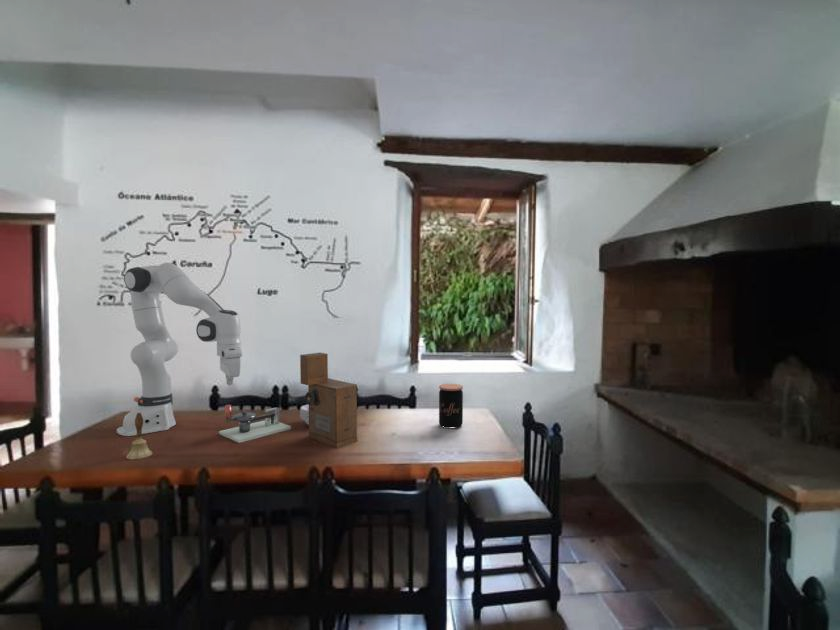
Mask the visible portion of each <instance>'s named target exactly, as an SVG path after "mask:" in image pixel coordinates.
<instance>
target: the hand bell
mask: <svg viewBox="0 0 840 630" xmlns="http://www.w3.org/2000/svg"><path fill="white" fill-rule="evenodd" d="M135 426H136V429H137V435H136V438H135V440H133V441H132V443H131V447H130V451H129V452H128V453H127V454H126V459H127V460H132V461H133V460H134V461H135V460H141V459H142V460H143V459H145V458H149V457H151V456H152V455H153V451H152V450H150V449H149V447H148V445H147V440H146V439H143V438H142V437H143V434H142V426H143V417H142V415H141V413H137V415H136V418H135Z"/></svg>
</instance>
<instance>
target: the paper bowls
mask: <svg viewBox="0 0 840 630" xmlns="http://www.w3.org/2000/svg"><path fill="white" fill-rule="evenodd" d="M299 408H300V411H299V413H300V419H301V420H302V421H304V422H305V424H306V425H308V426H309V405H308V404H303V405H302V406H301V407H299Z"/></svg>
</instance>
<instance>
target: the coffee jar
mask: <svg viewBox="0 0 840 630" xmlns="http://www.w3.org/2000/svg"><path fill="white" fill-rule="evenodd" d="M438 388H439V391H438V393H439V394H438V422H439V425H440V427H442V426H444V427H459V426H461V427H462V425H463V422H464V421H463V417H464V416H463V415H464V414H463V411H464V409H463V407H464V405H463V404H464V401H463V400H464V399H463V398H464V395H463V393H464V392H463V388H464V386H463V385H461V384H457V383H443V384H439V387H438ZM444 427H443V428H444ZM459 428H460V427H459Z"/></svg>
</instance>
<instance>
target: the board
mask: <svg viewBox="0 0 840 630" xmlns="http://www.w3.org/2000/svg"><path fill="white" fill-rule="evenodd" d="M247 412H248V411H247V410H244V411H241V413H242V415H246V414H247ZM269 419H270V426H265V419H263V420H260V421H257V422H256V421H255V422H253V423H252V422H250V431H248V432H239V426H235V427H232V428H227V429H224V430H219V431H218V434H219V435H220V436H222V437H225V438H228V439H230V440H232V441H233V442H236V443H238V444H240V443H244V442H247V441H253V440H255V439H259V438H264V437H266V436H270V435H275V434H278V433H282V432H285V431H286V432H287V431H289V430H292V426H291V425H288V424H286V423H284V422H280V424H276V423H275V420H274V423H273V424H271V418H269Z"/></svg>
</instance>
